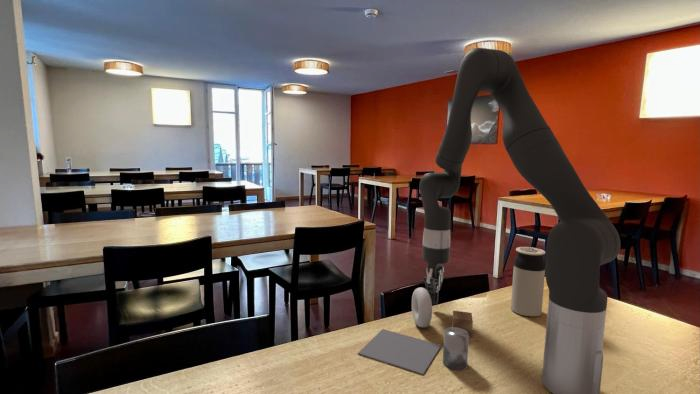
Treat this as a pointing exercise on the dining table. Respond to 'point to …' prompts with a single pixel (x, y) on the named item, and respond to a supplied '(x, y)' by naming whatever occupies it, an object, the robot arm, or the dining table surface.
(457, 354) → the grey cylinder
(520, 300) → the travel mug
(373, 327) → the dining table surface
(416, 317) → the donut
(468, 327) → the walnut block
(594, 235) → the robot arm
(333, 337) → the dining table surface
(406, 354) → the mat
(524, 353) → the dining table surface
